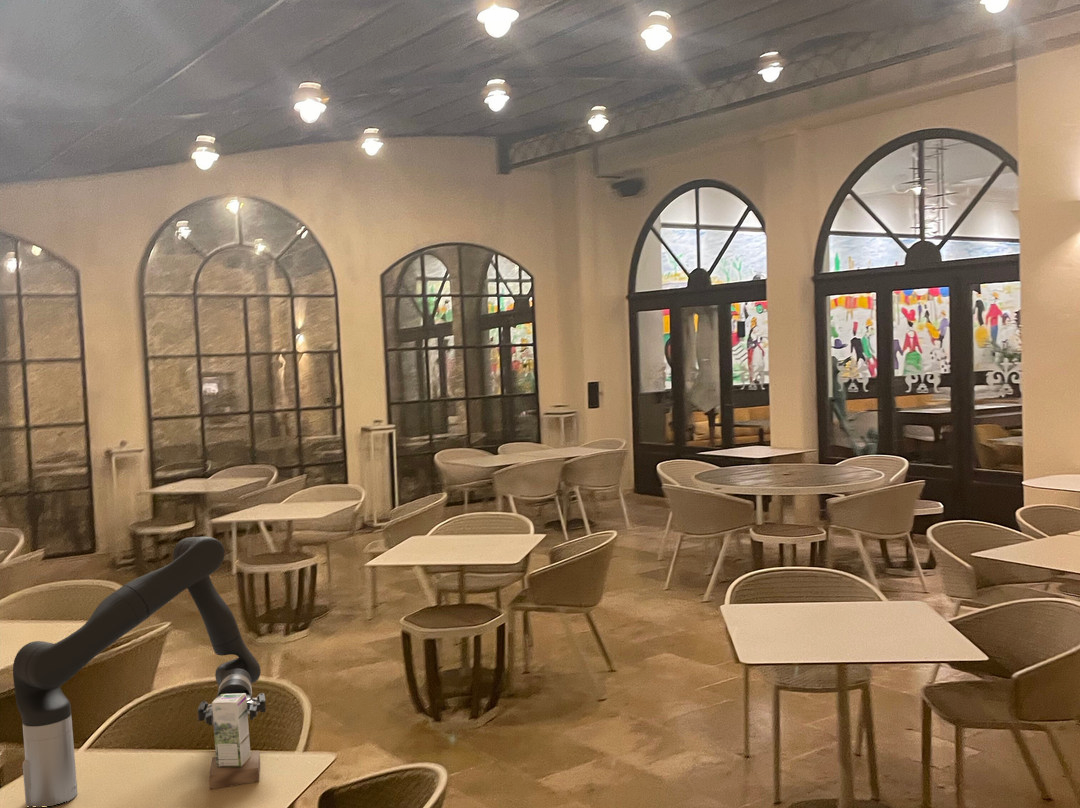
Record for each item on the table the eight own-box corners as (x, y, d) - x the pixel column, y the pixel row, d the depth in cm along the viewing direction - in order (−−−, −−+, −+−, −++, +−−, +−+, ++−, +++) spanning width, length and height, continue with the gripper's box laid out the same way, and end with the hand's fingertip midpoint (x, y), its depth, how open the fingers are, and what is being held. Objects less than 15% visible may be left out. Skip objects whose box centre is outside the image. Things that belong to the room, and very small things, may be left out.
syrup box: (251, 756, 214) (247, 691, 213) (241, 767, 208) (236, 701, 207) (226, 757, 214) (222, 692, 214) (215, 768, 208) (210, 701, 208)
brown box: (209, 789, 205) (208, 775, 205) (213, 770, 215) (212, 757, 215) (259, 781, 208) (258, 767, 208) (260, 763, 217) (259, 750, 217)
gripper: (201, 682, 222) (194, 705, 207) (265, 674, 226) (264, 696, 210) (203, 714, 223) (197, 740, 207) (267, 705, 226) (266, 730, 211)
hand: (231, 718), depth 209 cm, fingers open, 8 cm apart
